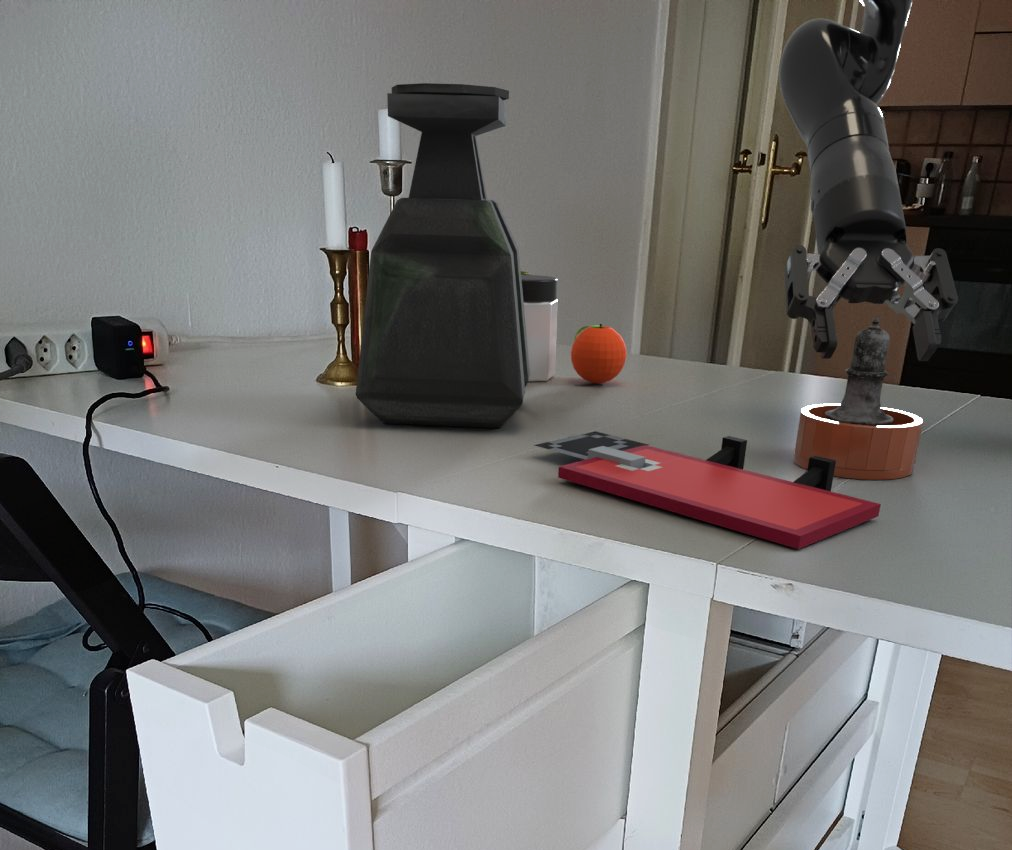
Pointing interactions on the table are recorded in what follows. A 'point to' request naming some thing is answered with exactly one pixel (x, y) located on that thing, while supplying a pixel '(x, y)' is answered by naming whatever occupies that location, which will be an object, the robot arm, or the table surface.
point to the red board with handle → (716, 487)
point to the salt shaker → (865, 380)
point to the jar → (540, 324)
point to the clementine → (598, 353)
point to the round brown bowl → (859, 444)
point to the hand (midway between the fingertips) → (879, 354)
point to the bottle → (445, 277)
